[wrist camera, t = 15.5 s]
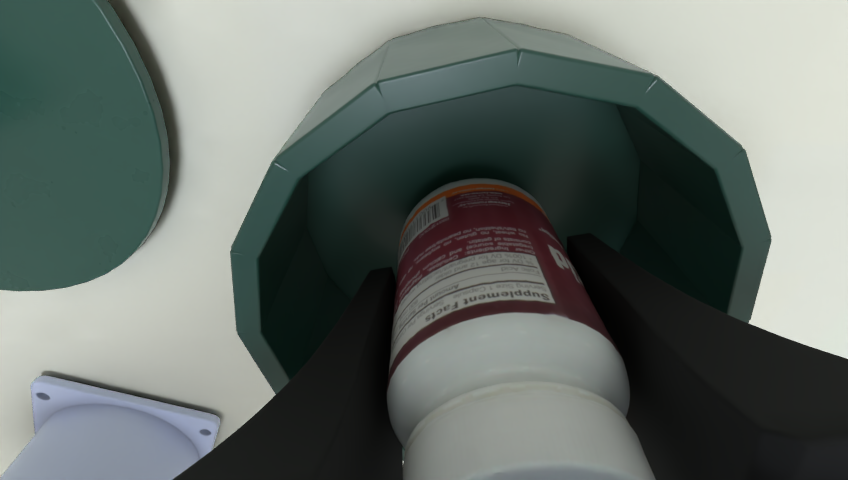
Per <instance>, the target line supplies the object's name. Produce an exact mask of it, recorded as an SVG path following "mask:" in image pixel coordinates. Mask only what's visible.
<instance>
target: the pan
mask: <svg viewBox="0 0 848 480" xmlns="http://www.w3.org/2000/svg"><path fill="white" fill-rule="evenodd" d="M472 178H488V179H496V180H501V181H505V182H508V183H511V184H513V185H516V186H518V187H520V188H521V189H523V190H524V191H526V192H528V193H529V194H530V195H531V196H533V197H534V198H535V199H536V200H537V202H538V203H539V204H540V205H541V207H542V208H543V210H544V211H545V213H546V215H547V217H548V219H549V221H550V223H551V224H552V226H553V228H554V230H555V232H556V234H557V236H558V238H559V239H560V241H561V242H562V244H563V246H564V248H565V251H566V253H567V237H568V236H574V235H580V234H586V233H591V234H592V235H594V236H595V237H597V238H598V239H600V240H601V241H603V242H604V243H605V244H607V245H608V246H610V247H611V248H613V249H614V250H616V251H617V252H618V253H620V254H621V255H623V256H624V257H626V258H627V259H629V260H630V261H632V262H633V263H635V264H636V265H638V266H639V267H641V268H642V269H644V270H646V271H647V272H649V273H650V274H652V275H654V276H655V277H657V278H659V279H660V280H662V281H664V282H665V283H667V284H669V285H671V286H673V287H674V288H676V289H678V290H680V291H681V292H683V293H685V294H687V295H689V296H691V297H693V298H694V299H696V300H698V301H700V302H702V303H704V304H707V305H709V306H711V307H713V308H715V309H717V310H719V311H721V312H723V313H725V314H728V315H730V316H732V317H734V318H737V319H739V320H741V321H744V322H746V323H749V320H750V319H751V315H752V312H753V308H754V304H755V300H756V297H757V293H758V289H759V285H760V282H761V278H762V274H763V270H764V267H765V263H766V259H767V255H768V252H769V248H770V244H771V234H770V231H769V228H768V224H767V221H766V217H765V214H764V211H763V207H762V204H761V201H760V197H759V194H758V191H757V187H756V184H755V181H754V177H753V174H752V171H751V167H750V164H749V160H748V157H747V154H746V151H745V149H743V148H742V145H741V144H739V143H738V142H737V141H736V140H735V139H733V138H732V137H731V136H730V135H729V134H727V133H726V132H725V131H724V130H723V129H721V128H720V127H719V126H718V125H717V124H715V123H714V122H713V121H712V120H711V119H709V118H708V117H707V116H706V115H705V114H703V113H702V112H701V111H700V110H699V109H697V108H696V107H695V106H694V105H693V104H691V103H690V102H689V101H688V100H687V99H685V98H684V97H683V96H682V95H681V94H679V93H678V92H677V91H676V90H675V89H673V88H672V87H671V86H670V85H669V84H667V83H666V82H665V81H664V80H663V79H661V78H660V77H659V76H657V75H655V74H652V73H651V72H648V71H646V70H644V69H642V68H640V67H637V66H635V65H633V64H631V63H629V62H627V61H624V60H622V59H620V58H618V57H616V56H613V55H611V54H609V53H607V52H605V51H603V50H600V49H598V48H596V47H594V46H592V45H589V44H587V43H585V42H583V41H581V40H579V39H576V38H574V37H572V36H570V35H568V34H563V33H558V32H553V31H548V30H543V29H539V28H535V27H532V26H528V25H525V24H519V23H511V22H504V21H499V20H494V19H489V18H475V19H471V20H467V21H461V22H455V23H449V24H443V25H437V26H433V27H430V28H427V29H424V30H421V31H418V32H415V33H411V34H408V35H406V36H401V37H397V38H393V39H392V40H390V41H388V42H387V43H385V44H384V45H383V46H382V47H380V48H379V49H378V50H376V51H375V52H374V53H372V54H371V55H369V56H368V57H366V58H365V59H364V60H362V61H361V62H359V63H358V64H357V65H356V66H354V67H353V68H352V69H351V70H350V71H349V72H348V73H347V74H346V75H345V76H343V77H342V78H341V79H340V80H338V81H337V82H336V83H335V84H333V85H332V86H331V87H330V88H328V89H327V90H326V91H324V93H323V94H322V95H321V97H320V98H319V99H318V101H317V102H316V103H315V105H314V106H313V107H312V109H311V110H310V111H309V113H308V114H307V115H306V117H305V118H304V119H303V121H302V122H301V123H300V125H299V126H298V127H297V129H296V130H295V131H294V133H293V134H292V135H291V137H290V138H289V139H288V141H287V142H286V143H285V145H284V146H283V147H282V149H281V150H280V151H279V153H278V154H277V155H276V157H275V158H274V159H273V161H272V163H271V165H270V167H269V169H268V171H267V173H266V175H265V177H264V179H263V181H262V184H261V186H260V188H259V190H258V192H257V194H256V196H255V198H254V200H253V202H252V205H251V207H250V209H249V211H248V213H247V215H246V217H245V219H244V221H243V223H242V226H241V228H240V230H239V232H238V234H237V236H236V238H235V240H234V242H233V244H232V247H231V251H230V256H231V268H232V280H233V293H234V305H235V318H236V330H237V333H238V335H239V337H240V339H241V340H242V342H243V343H244V345H245V347H246V348H247V350H248V351H249V353H250V354H251V356H252V358H253V359H254V361H255V362H256V364H257V365H258V367H259V369H260V370H261V372H262V373H263V375H264V376H265V378H266V380H267V381H268V383H269V384H270V386H271V387H272V389H273V391H274V392H275V394H277V393H278V392H279V391H280V390H281V389H282V388H283V387H284V386H285V385H286V384H287V383H288V382H289V381H290V380H291V379H292V378H293V377H294V376H295V375H296V374H297V373H298V372H299V371H300V369H301V368H302V367H303V366H304V365H305V364H306V363H307V362H308V360H309V359H310V358H311V357H312V355H313V354H314V353H315V352H316V350H317V349H318V348H319V347H320V345H321V344H322V342H323V341H324V340H325V338H326V337H327V336H328V334H329V333H330V332H331V330H332V329H333V328H334V326H335V325H336V323H337V322H338V320H339V319H340V317H341V316H342V314H343V313H344V311H345V310H346V308H347V307H348V305H349V304H350V302H351V300H352V299H353V297H354V295H355V294H356V292H357V291H358V289H359V287H360V286H361V284H362V282H363V281H364V279H365V277H366V276H367V274H368V273H369V271H370V270H375V269H381V268H386V267H392V270H393V273H394V277H395V280H396V278H397V266H398V251H399V242H400V237H401V232H402V229H403V226H404V224H405V221H406V219H407V217H408V216H409V214H410V213H411V211H412V210H413V209H414V207H415V206H416V205H417V204H418V203H419V202H420V201H421V200H422V199H423V198H424V197H426V196H427V195H428V194H430V193H431V192H432V191H434V190H436V189H438V188H440V187H441V186H443V185H445V184H448V183H451V182H456V181H459V180H465V179H472ZM404 454H405V448H404V447H403V446H402V457H403V461H404Z"/></svg>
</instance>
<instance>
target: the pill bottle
mask: <svg viewBox="0 0 848 480" xmlns="http://www.w3.org/2000/svg"><path fill="white" fill-rule="evenodd" d="M386 391H387V406H388V413H389V418H390V422H391V426H392V428H393V430H394V433H395V435H396V436H397V438H398V440H399V442H400V443H401V444H402V446H403V447H404V448H405V454H404V463H403V473H402V474H403V480H656V479H655V477H654V474H653V472H652V470H651V468H650V465H649V463H648V461H647V458H646V456H645V454H644V451H643V449H642V446H641V444H640V441H639V438H638V436H637V434H636V433H635V432H634V430H633V429H632V427H631V426H630V425H629V423H628V421H627V419H626V415H627V412H628V408H629V402H630V386H629V380H628V375H627V371H626V368H625V364H624V360H623V358H622V356H621V354H620V352H619V350H618V348H617V346H616V344H615V343H614V341H613V339H612V338H611V336H610V334H609V333H608V331H607V329H606V327H605V325H604V323H603V321H602V319H601V318H600V316H599V314H598V312H597V310H596V308H595V307H594V305H593V303H592V301H591V299H590V296H589V295H588V293H587V291H586V289H585V287H584V285H583V283H582V281H581V279H580V277H579V275H578V273H577V271H576V269H575V268H574V266H573V264H572V262H571V261H570V259H569V257H568V255H567V253H566V251H565V248H564V246H563V244H562V242H561V241H560V239H559V238H558V236H557V234H556V232H555V230H554V228H553V226H552V224H551V223H550V221H549V219H548V217H547V215H546V213H545V211H544V210H543V208H542V207H541V205H540V204H539V203H538V202H537V200H536V199H535V198H534V197H533V196H531V195H530V194H529V193H528V192H526V191H524V190H523V189H521V188H520V187H518V186H516V185H513V184H511V183H508V182H505V181H501V180H496V179H488V178H472V179H465V180H459V181H456V182H451V183H448V184H445V185H443V186H441V187H440V188H438V189H436V190H434V191H432V192H431V193H430V194H428V195H427V196H426V197H424V198H423V199H422V200H421V201H420V202H419V203H418V204H417V205H416V206H415V207H414V209H413V210H412V211H411V213H410V214H409V216H408V217H407V219H406V221H405V224H404V226H403V229H402V232H401V237H400V242H399V251H398V266H397V278H396V289H395V299H394V313H393V325H392V333H391V356H390V364H389V376H388V384H387V390H386Z"/></svg>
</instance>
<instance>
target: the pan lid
mask: <svg viewBox="0 0 848 480" xmlns="http://www.w3.org/2000/svg"><path fill="white" fill-rule="evenodd" d="M169 171H170V158H169V145H168V136H167V131H166V127H165V122H164V118H163V113H162V109H161V106H160V103H159V100H158V97H157V94H156V92H155V89H154V86H153V83H152V80H151V77H150V75H149V73H148V71H147V69H146V67H145V65H144V63H143V61H142V58H141V56H140V54H139V52H138V50H137V48H136V46H135V44H134V42H133V40H132V39H131V37H130V35H129V34H128V32H127V31H126V29H125V27H124V26H123V24H122V22H121V21H120V19H119V17H118V16H117V14H116V12H115V11H114V9H113V7H112V6H111V5H110V3H109V2H108V1H107V0H0V290H10V291H44V290H52V289H59V288H66V287H70V286H74V285H78V284H81V283H85V282H88V281H91V280H93V279H95V278H98V277H100V276H102V275H105V274H107V273H108V272H110V271H111V270H113V269H114V268H116V267H118V266H119V265H121V264H122V263H124V262H125V261H126V260H127V259H128V258H129V257H130V256H131V255H132V254H133V253H134V252H135V251H136V250H137V249H138V248H139V247H140V246H141V245H142V244H143V243H144V242H145V240H146V239H147V238H148V236H149V235H150V233H151V232H152V231H153V229H154V228H155V226H156V224H157V221H158V219H159V217H160V215H161V213H162V211H163V207H164V203H165V199H166V195H167V191H168V184H169Z"/></svg>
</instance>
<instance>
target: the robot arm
mask: <svg viewBox="0 0 848 480" xmlns="http://www.w3.org/2000/svg"><path fill="white" fill-rule="evenodd" d="M567 255H568V257H569V259H570V261H571V262H572V264H573V266H574V268H575V269H576V271H577V273H578V275H579V277H580V279H581V281H582V283H583V285H584V287H585V289H586V291H587V293H588V295H589V296H590V299H591V301H592V303H593V305H594V307H595V308H596V310H597V312H598V314H599V316H600V318H601V319H602V321H603V323H604V325H605V327H606V329H607V331H608V333H609V334H610V336H611V338H612V339H613V341H614V343H615V344H616V346H617V348H618V350H619V352H620V354H621V356H622V358H623V360H624V364H625V368H626V371H627V375H628V380H629V386H630V402H629V408H628V412H627V415H626V419H627V421H628V423H629V425H630V426H631V427H632V429H633V430H634V432H635V433H636V434H637V436H638V438H639V441H640V444H641V446H642V449H643V451H644V454H645V456H646V458H647V461H648V463H649V465H650V468H651V470H652V472H653V474H654V477H655V479H656V480H848V359H846V358H843V357H840V356H837V355H834V354H830V353H827V352H824V351H821V350H818V349H815V348H812V347H809V346H806V345H803V344H801V343H798V342H795V341H792V340H789V339H787V338H784V337H781V336H779V335H776V334H774V333H771V332H768V331H766V330H763V329H761V328H758V327H756V326H753V325H751V324H748V323H746V322H744V321H741V320H739V319H737V318H734V317H732V316H730V315H728V314H725V313H723V312H721V311H719V310H717V309H715V308H713V307H711V306H709V305H707V304H704V303H702V302H700V301H698V300H696V299H694V298H693V297H691V296H689V295H687V294H685V293H683V292H681V291H680V290H678V289H676V288H674V287H673V286H671V285H669V284H667V283H665V282H664V281H662V280H660V279H659V278H657V277H655V276H654V275H652V274H650V273H649V272H647V271H646V270H644V269H642V268H641V267H639V266H638V265H636V264H635V263H633V262H632V261H630V260H629V259H627V258H626V257H624V256H623V255H621V254H620V253H618V252H617V251H616V250H614V249H613V248H611V247H610V246H608V245H607V244H605V243H604V242H603V241H601V240H600V239H598V238H597V237H595V236H594V235H592V234H591V233H586V234H580V235H574V236H568V237H567ZM395 289H396V280H395V277H394V273H393V270H392V267H386V268H381V269H375V270H370V271H369V273H368V274H367V276H366V277H365V279H364V281H363V282H362V284H361V286H360V287H359V289H358V291H357V292H356V294H355V295H354V297H353V299H352V300H351V302H350V304H349V305H348V307H347V308H346V310H345V311H344V313H343V314H342V316H341V317H340V319H339V320H338V322H337V323H336V325H335V326H334V328H333V329H332V330H331V332H330V333H329V334H328V336H327V337H326V338H325V340H324V341H323V342H322V344H321V345H320V347H319V348H318V349H317V350H316V352H315V353H314V354H313V355H312V357H311V358H310V359H309V360H308V362H307V363H306V364H305V365H304V366H303V367H302V368H301V369H300V371H299V372H298V373H297V374H296V375H295V376H294V377H293V378H292V379H291V380H290V381H289V382H288V383H287V384H286V385H285V386H284V387H283V388H282V389H281V390H280V391H279V392H278V393H277V394H276V395H275V396H274V397H273V398H272V399H271V400H270V401H269V402H268V403H267V404H266V405H265V406H264V407H263V408H262V409H261V410H260V411H259V412H258V413H256V414H255V415H254V416H253V417H252V418H251V419H250V420H248V421H247V422H246V423H245V424H244V425H243V426H242V427H240V428H239V429H238V430H237V431H236V432H234V433H233V434H232V435H231V436H230V437H228V438H227V439H226V440H225V441H223V442H222V443H221V444H220V445H218V446H217V447H216V448H215V449H213V446H214V443H215V439H216V436H217V433H218V429H219V426H220V419H219V418H218V417H217V416H216V415H214V414H210V413H206V412H202V411H197V410H193V409H189V408H184V407H180V406H176V405H172V404H167V403H163V402H159V401H154V400H150V399H146V398H141V397H137V396H133V395H129V394H124V393H120V392H116V391H111V390H107V389H103V388H98V387H94V386H90V385H86V384H81V383H77V382H73V381H68V380H64V379H60V378H55V377H51V376H45V375H44V376H39V377H37V378H36V379H35V380H34V381H33V382H32V384H31V394H32V405H33V417H34V428H35V435H34V437H33V438H32V439H31V440H30V442H29V443H28V444H27V445H26V446H25V448H24V449H23V450H22V451H21V453H20V454H19V455H18V456H17V457H16V459H15V460H14V461H13V462H12V464H11V465H10V466H9V467H8V469H7V470H6V471H5V472H4V473H3V475H2V476H1V477H0V480H403V474H402V473H403V457H402V444H401V443H400V442H399V440H398V438H397V436H396V435H395V433H394V430H393V428H392V426H391V422H390V418H389V413H388V406H387V391H386V390H387V384H388V376H389V364H390V356H391V333H392V325H393V313H394V299H395Z"/></svg>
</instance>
